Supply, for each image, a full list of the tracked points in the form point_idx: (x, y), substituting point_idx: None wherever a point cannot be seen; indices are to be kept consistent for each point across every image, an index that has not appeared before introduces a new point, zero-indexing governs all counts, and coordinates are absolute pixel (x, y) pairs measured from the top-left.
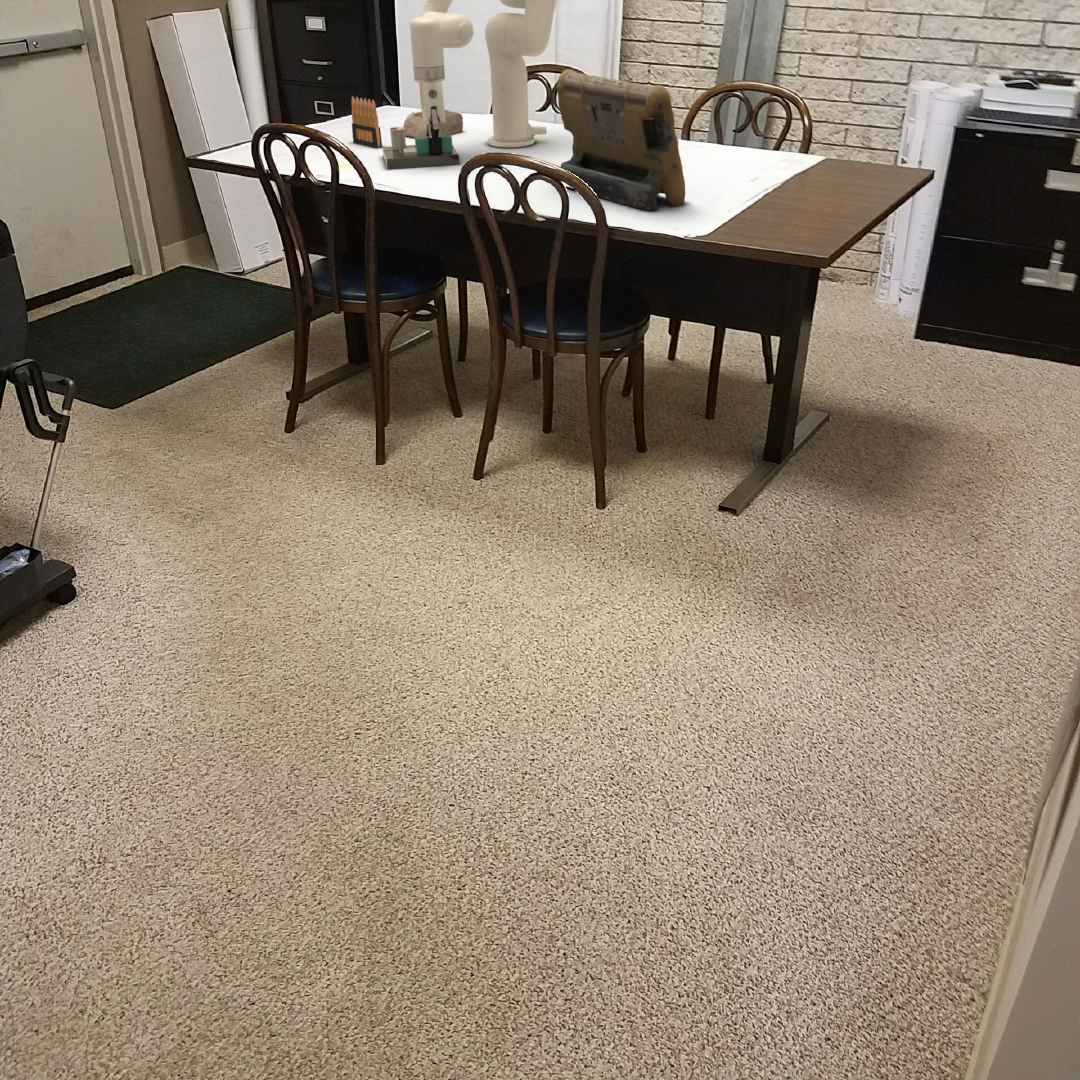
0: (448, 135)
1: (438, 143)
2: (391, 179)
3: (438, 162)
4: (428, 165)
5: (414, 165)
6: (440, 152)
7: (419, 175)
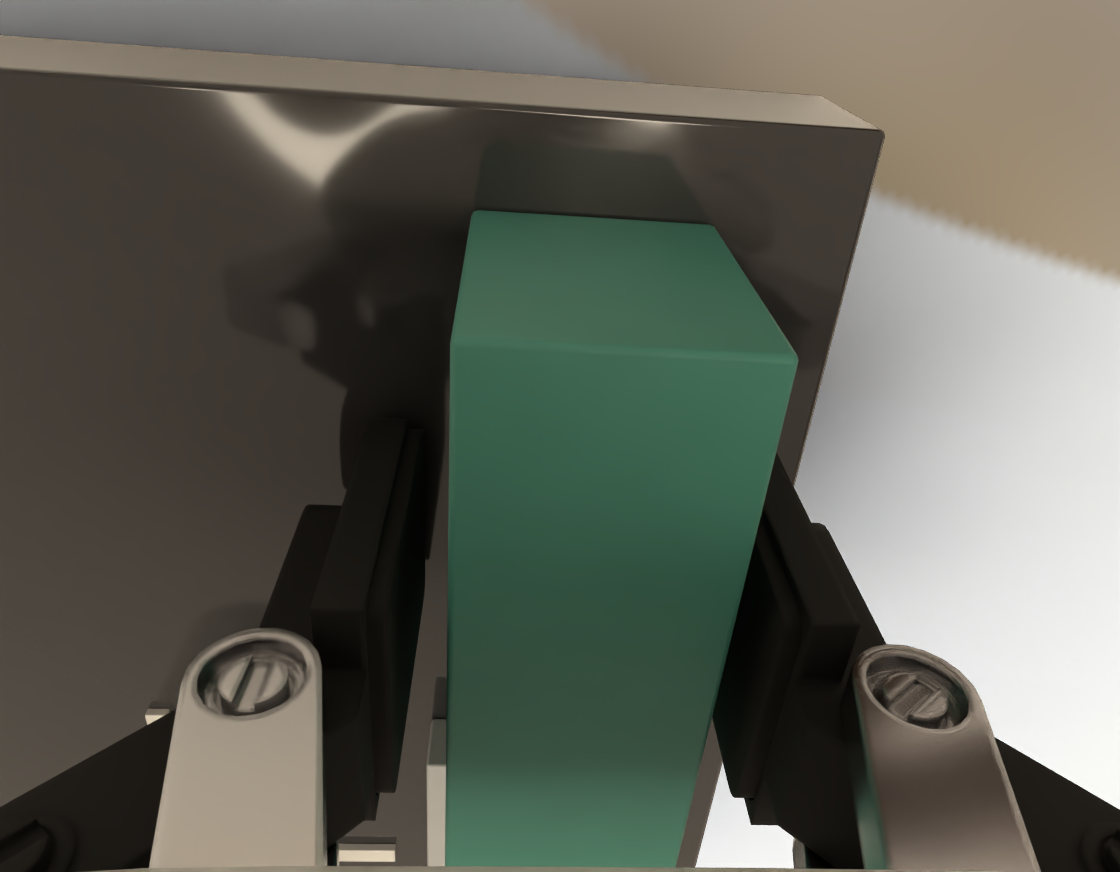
0: (578, 406)
1: (859, 604)
2: None
3: None
4: None
5: None
6: None
7: (1085, 658)
